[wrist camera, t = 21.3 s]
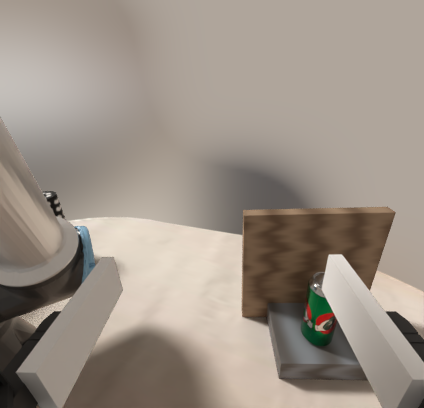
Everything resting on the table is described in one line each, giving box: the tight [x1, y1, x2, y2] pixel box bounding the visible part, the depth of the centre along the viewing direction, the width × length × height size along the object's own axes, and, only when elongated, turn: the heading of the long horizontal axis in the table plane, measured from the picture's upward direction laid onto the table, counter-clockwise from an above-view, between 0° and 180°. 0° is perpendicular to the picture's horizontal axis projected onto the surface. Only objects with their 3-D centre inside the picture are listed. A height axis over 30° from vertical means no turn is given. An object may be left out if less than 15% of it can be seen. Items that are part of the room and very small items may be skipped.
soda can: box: [300, 272, 337, 346], centre depth 37 cm, size 5×5×12 cm
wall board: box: [242, 207, 395, 380], centre depth 38 cm, size 24×14×24 cm, turn 88°
